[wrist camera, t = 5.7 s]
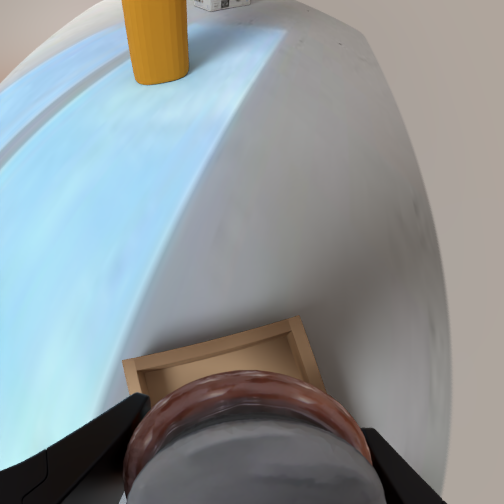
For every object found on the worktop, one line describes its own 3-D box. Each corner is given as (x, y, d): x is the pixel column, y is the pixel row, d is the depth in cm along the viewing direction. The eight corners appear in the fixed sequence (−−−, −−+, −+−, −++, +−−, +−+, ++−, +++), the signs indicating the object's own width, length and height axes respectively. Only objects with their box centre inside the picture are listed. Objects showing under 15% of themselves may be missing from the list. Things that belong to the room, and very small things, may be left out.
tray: (341, 469, 17) (354, 476, 15) (180, 514, 15) (175, 527, 12) (291, 324, 22) (299, 315, 19) (133, 364, 19) (121, 360, 17)
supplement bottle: (172, 388, 14) (45, 348, 4) (292, 375, 15) (415, 311, 5) (187, 497, 11) (114, 634, 1) (308, 483, 12) (437, 588, 2)
